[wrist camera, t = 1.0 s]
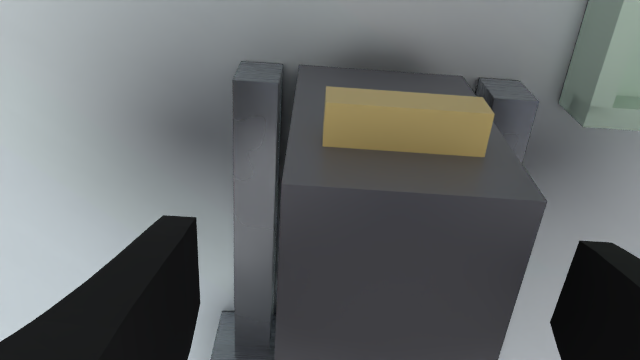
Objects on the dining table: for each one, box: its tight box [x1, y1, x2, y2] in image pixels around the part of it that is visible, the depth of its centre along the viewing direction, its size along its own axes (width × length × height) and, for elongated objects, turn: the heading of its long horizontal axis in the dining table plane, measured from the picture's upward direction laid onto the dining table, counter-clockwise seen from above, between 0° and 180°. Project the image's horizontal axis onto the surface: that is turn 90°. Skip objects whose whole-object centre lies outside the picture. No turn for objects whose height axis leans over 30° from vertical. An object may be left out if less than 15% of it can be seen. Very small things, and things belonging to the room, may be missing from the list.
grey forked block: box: [210, 61, 539, 360], centre depth 14 cm, size 8×12×6 cm, turn 176°
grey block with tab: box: [274, 65, 547, 360], centre depth 12 cm, size 4×8×6 cm, turn 176°
